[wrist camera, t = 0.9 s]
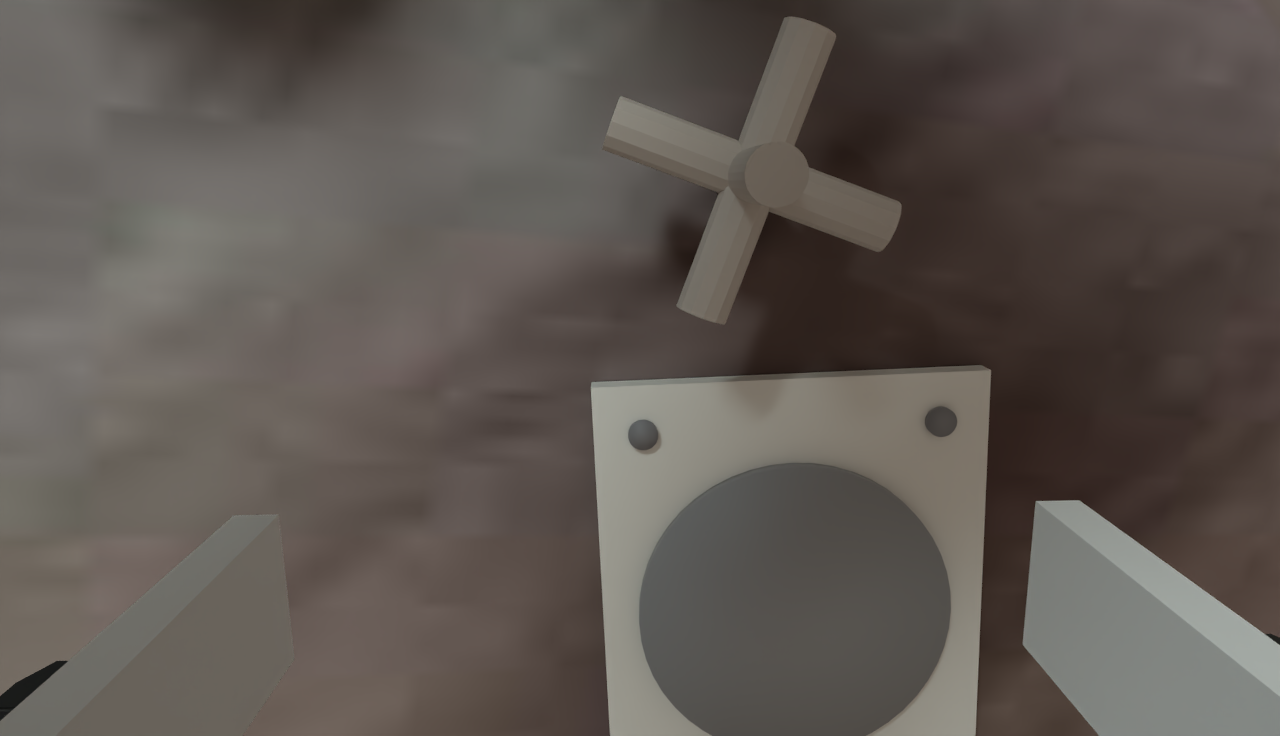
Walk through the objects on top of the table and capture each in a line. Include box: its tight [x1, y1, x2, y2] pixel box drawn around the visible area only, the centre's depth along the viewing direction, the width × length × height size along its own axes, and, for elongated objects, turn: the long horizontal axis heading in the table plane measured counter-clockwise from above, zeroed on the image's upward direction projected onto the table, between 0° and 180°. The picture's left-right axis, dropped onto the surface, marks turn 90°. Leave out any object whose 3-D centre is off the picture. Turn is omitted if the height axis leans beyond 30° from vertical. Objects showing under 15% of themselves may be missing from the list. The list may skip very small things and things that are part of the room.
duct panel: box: [591, 365, 991, 736], centre depth 37 cm, size 20×16×2 cm
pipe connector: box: [603, 16, 902, 325], centre depth 30 cm, size 10×10×10 cm
